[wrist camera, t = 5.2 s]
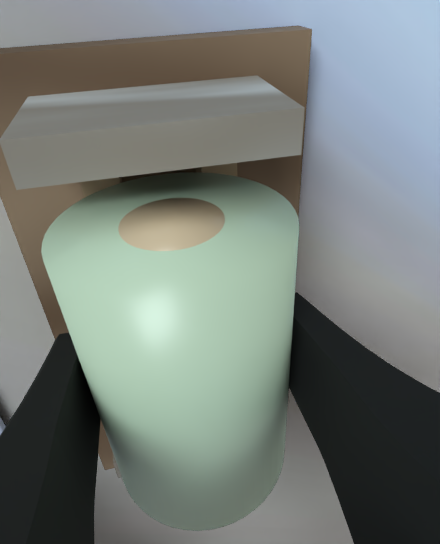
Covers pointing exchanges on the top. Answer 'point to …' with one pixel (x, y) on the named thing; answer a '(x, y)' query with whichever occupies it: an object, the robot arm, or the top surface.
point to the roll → (184, 335)
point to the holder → (145, 125)
